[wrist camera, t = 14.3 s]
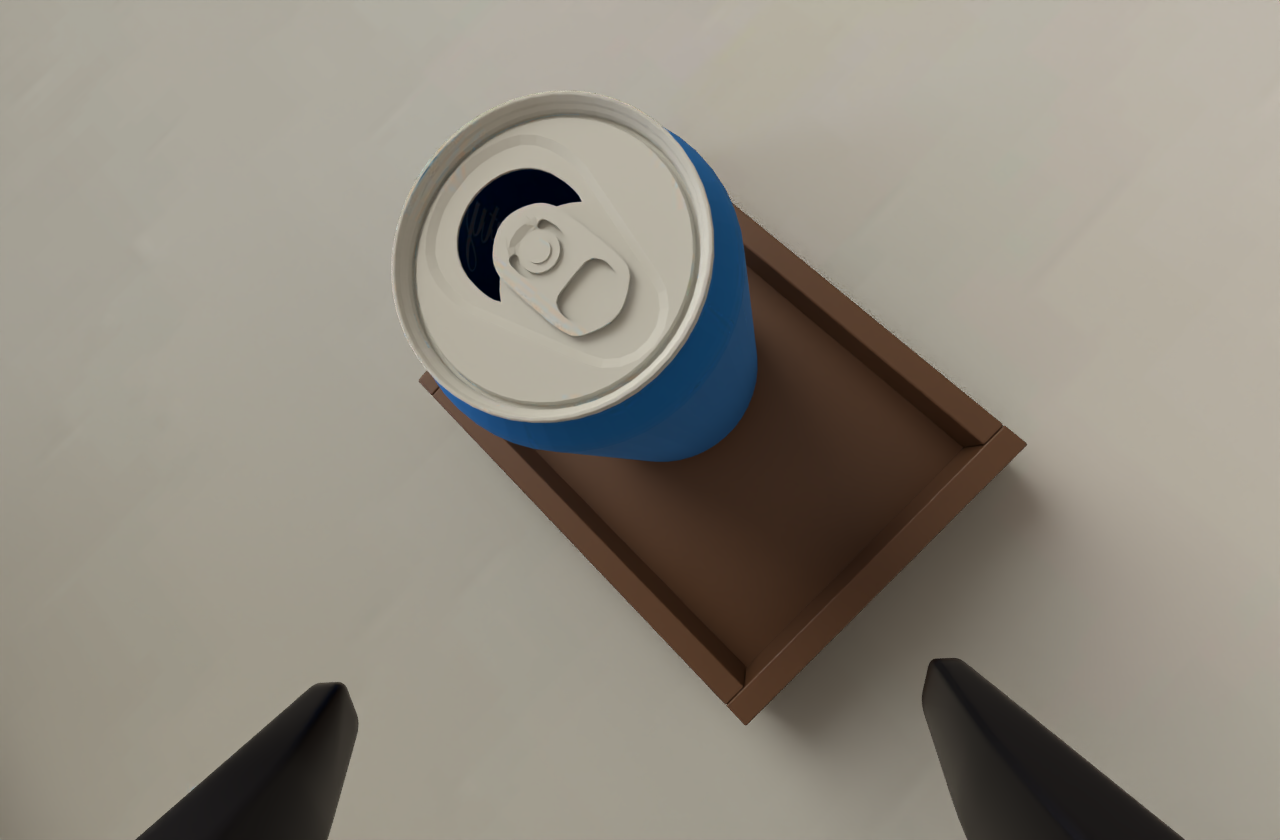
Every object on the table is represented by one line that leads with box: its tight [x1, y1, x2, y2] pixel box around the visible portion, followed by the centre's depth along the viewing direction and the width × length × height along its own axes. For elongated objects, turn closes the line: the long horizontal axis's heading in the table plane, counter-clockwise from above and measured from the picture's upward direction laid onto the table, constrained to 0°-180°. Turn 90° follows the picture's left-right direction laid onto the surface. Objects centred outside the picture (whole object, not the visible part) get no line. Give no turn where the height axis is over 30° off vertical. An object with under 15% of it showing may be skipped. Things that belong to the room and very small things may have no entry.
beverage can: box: [391, 91, 758, 462], centre depth 16 cm, size 6×6×12 cm
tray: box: [419, 203, 1027, 725], centre depth 21 cm, size 16×12×3 cm
